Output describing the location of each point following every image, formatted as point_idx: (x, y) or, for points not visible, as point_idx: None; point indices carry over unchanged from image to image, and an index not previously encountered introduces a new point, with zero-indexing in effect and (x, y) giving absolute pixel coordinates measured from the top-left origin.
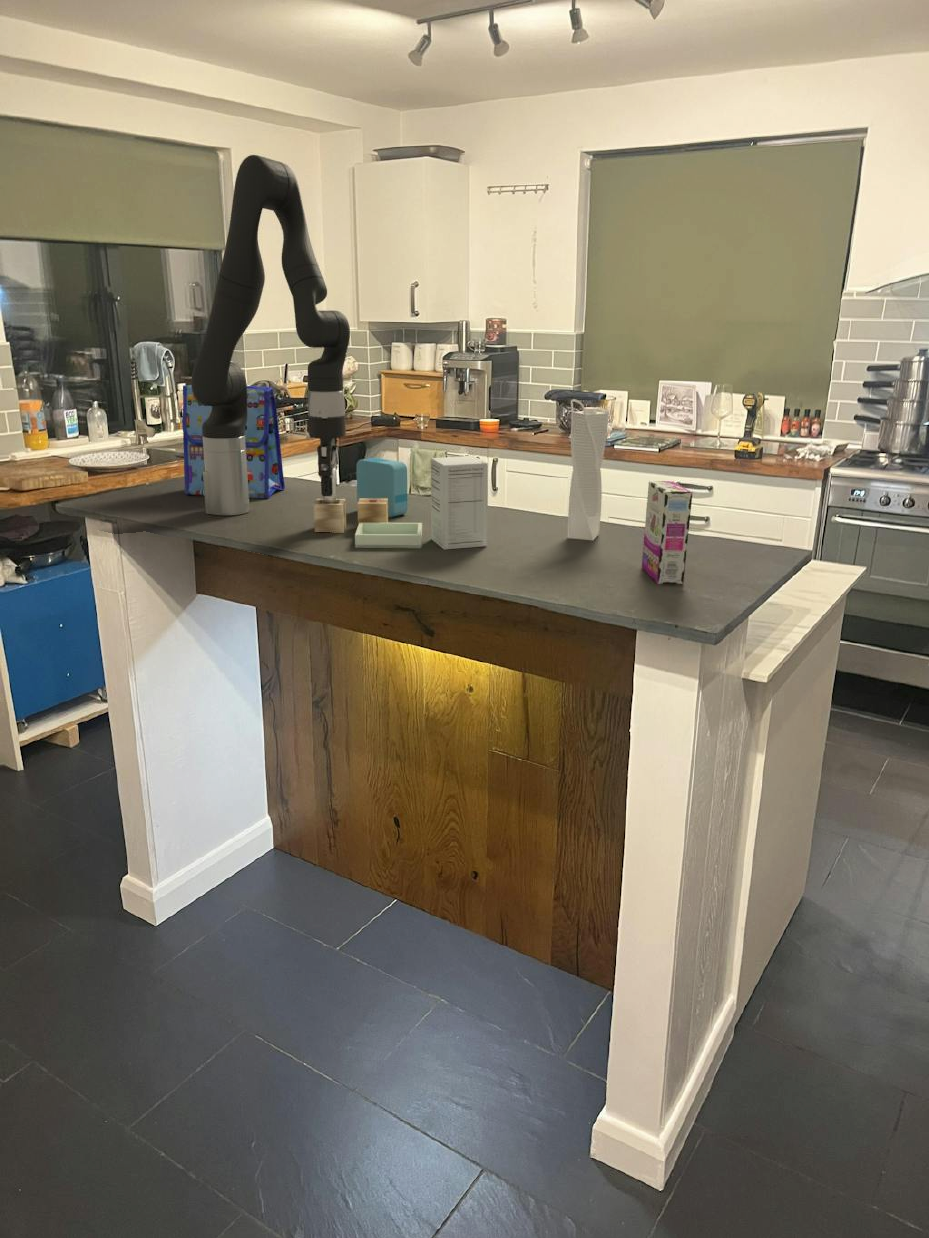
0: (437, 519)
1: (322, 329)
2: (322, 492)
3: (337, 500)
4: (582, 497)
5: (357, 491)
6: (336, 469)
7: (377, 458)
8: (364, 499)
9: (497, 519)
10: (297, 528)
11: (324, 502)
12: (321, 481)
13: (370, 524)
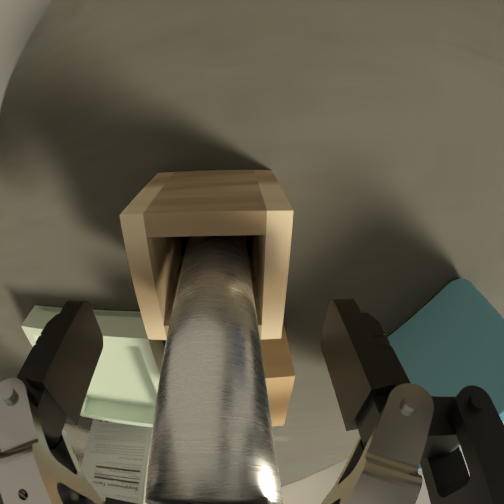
0: (107, 453)
1: None
2: (65, 313)
3: (261, 310)
4: None
5: (488, 306)
6: (360, 437)
7: None
8: (267, 389)
9: (307, 454)
10: (234, 91)
11: (189, 262)
12: (34, 362)
13: (144, 359)
